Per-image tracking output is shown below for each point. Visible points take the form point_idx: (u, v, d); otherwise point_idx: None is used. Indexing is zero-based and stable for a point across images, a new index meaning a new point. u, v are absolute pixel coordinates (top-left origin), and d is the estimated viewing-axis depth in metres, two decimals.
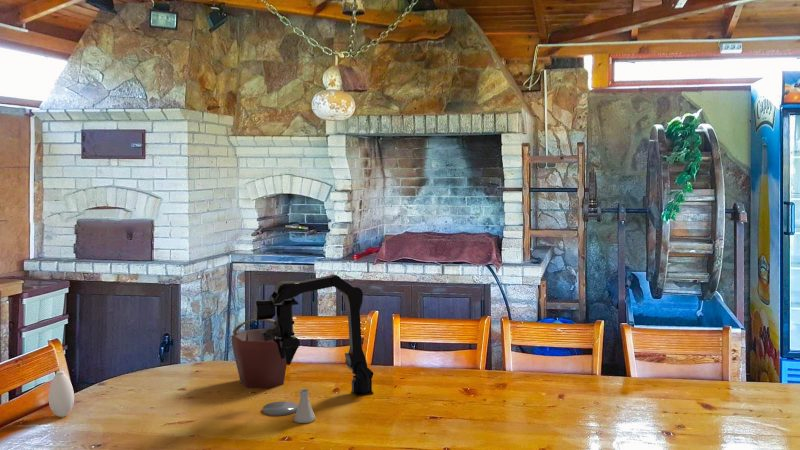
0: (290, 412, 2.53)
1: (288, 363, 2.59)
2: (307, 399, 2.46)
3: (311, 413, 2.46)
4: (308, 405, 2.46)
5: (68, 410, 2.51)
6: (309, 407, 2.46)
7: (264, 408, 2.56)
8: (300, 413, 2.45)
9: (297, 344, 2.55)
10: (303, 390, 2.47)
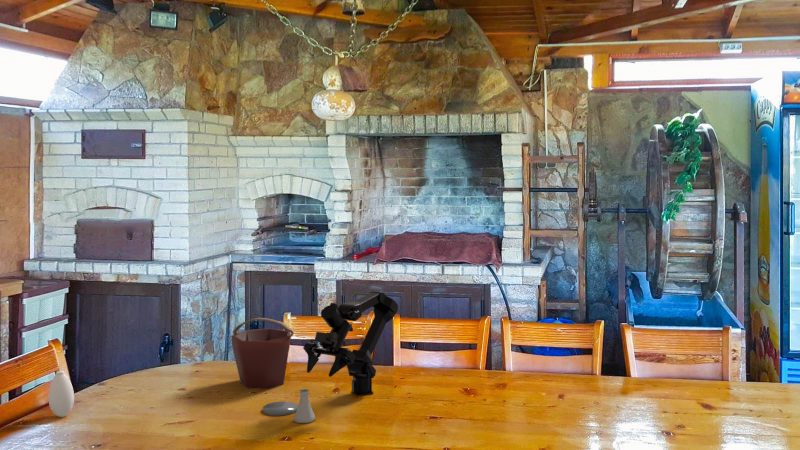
0: (290, 412, 2.53)
1: (330, 375, 2.50)
2: (307, 399, 2.46)
3: (311, 413, 2.46)
4: (308, 405, 2.46)
5: (68, 410, 2.51)
6: (309, 407, 2.46)
7: (264, 408, 2.56)
8: (300, 413, 2.45)
9: (353, 360, 2.53)
10: (303, 390, 2.47)
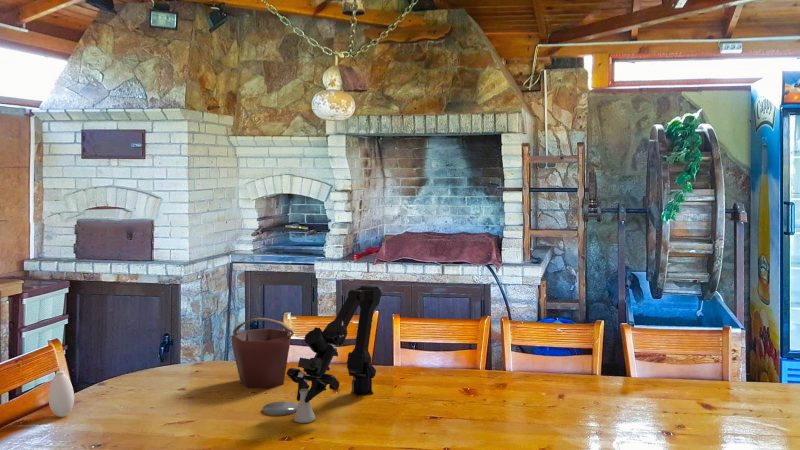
0: (290, 412, 2.53)
1: (306, 401, 2.45)
2: None
3: (311, 413, 2.46)
4: (308, 405, 2.46)
5: (68, 410, 2.51)
6: (309, 407, 2.46)
7: (264, 408, 2.56)
8: (300, 413, 2.45)
9: (337, 387, 2.46)
10: (303, 390, 2.47)
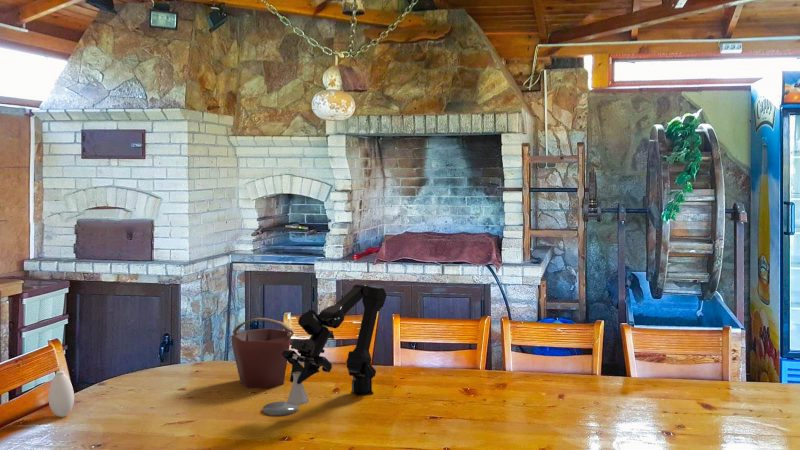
0: (290, 412, 2.53)
1: (298, 382, 2.46)
2: None
3: (303, 396, 2.47)
4: (300, 388, 2.47)
5: (68, 410, 2.51)
6: (301, 390, 2.47)
7: (264, 408, 2.56)
8: (293, 395, 2.46)
9: (329, 369, 2.47)
10: (297, 373, 2.49)
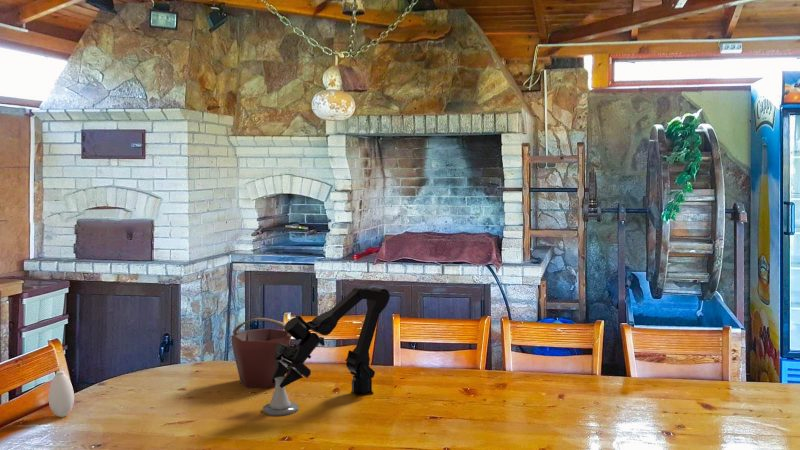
0: (290, 412, 2.53)
1: (281, 386, 2.53)
2: None
3: (283, 401, 2.55)
4: (281, 393, 2.55)
5: (68, 410, 2.51)
6: (282, 395, 2.55)
7: (264, 408, 2.56)
8: (273, 399, 2.55)
9: (307, 375, 2.52)
10: (280, 378, 2.58)
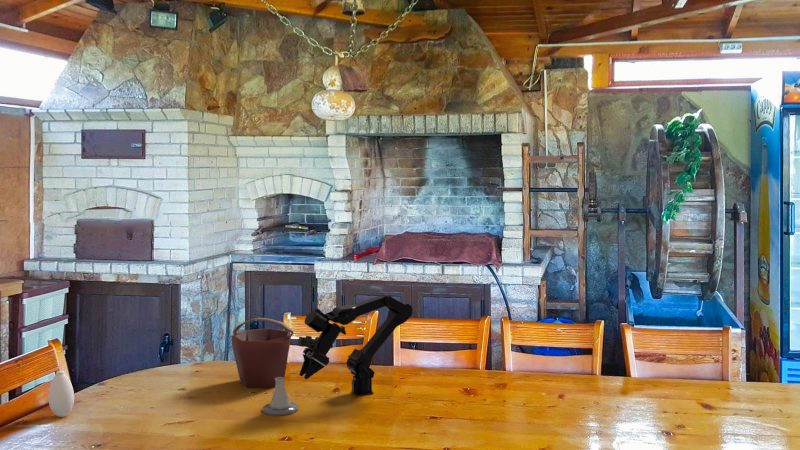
0: (290, 412, 2.53)
1: (306, 377, 2.59)
2: (281, 387, 2.55)
3: (283, 401, 2.55)
4: (281, 393, 2.55)
5: (68, 410, 2.51)
6: (282, 395, 2.55)
7: (264, 408, 2.56)
8: (273, 399, 2.55)
9: (325, 362, 2.56)
10: (280, 378, 2.58)
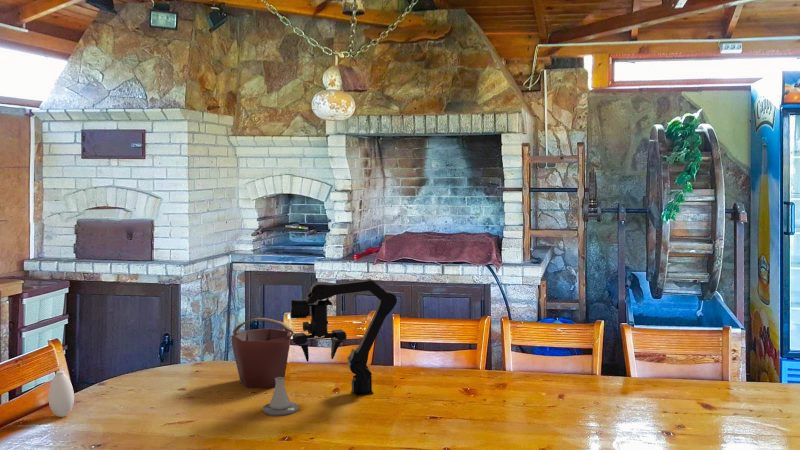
0: (290, 412, 2.53)
1: (307, 360, 2.70)
2: (281, 387, 2.55)
3: (283, 401, 2.55)
4: (281, 393, 2.55)
5: (68, 410, 2.51)
6: (282, 395, 2.55)
7: (264, 408, 2.56)
8: (273, 399, 2.55)
9: (295, 342, 2.66)
10: (280, 378, 2.58)
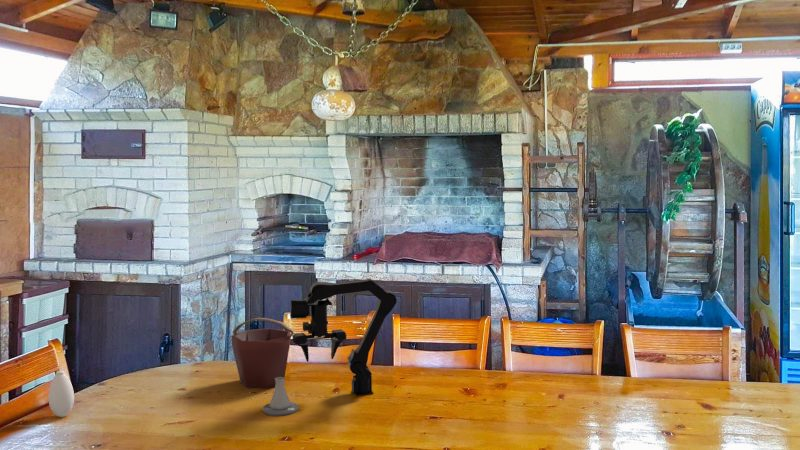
0: (290, 412, 2.53)
1: (307, 360, 2.70)
2: (281, 387, 2.55)
3: (283, 401, 2.55)
4: (281, 393, 2.55)
5: (68, 410, 2.51)
6: (282, 395, 2.55)
7: (264, 408, 2.56)
8: (273, 399, 2.55)
9: (295, 342, 2.66)
10: (280, 378, 2.58)
